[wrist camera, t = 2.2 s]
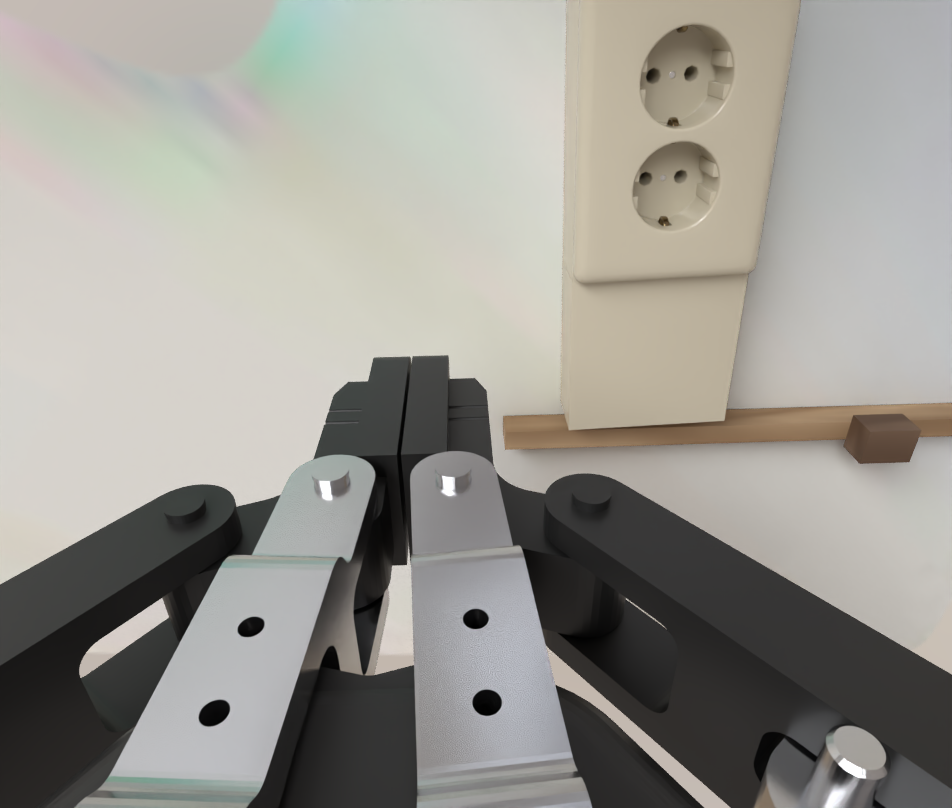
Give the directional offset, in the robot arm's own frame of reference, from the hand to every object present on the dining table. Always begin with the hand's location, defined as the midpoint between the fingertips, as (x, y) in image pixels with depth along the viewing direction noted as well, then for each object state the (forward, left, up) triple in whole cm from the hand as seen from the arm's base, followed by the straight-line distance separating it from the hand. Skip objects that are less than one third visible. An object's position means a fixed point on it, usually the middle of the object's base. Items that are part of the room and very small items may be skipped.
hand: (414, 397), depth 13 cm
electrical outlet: (+1, +9, -17) cm, 19 cm away
